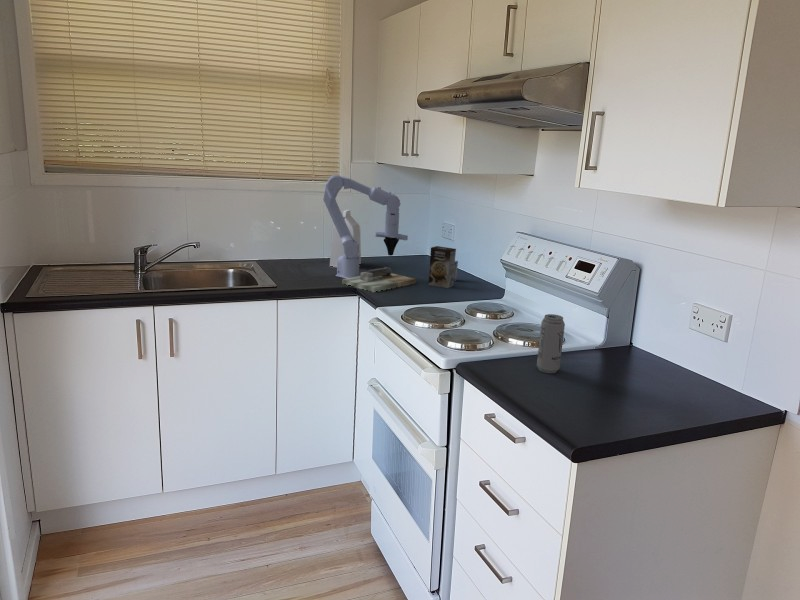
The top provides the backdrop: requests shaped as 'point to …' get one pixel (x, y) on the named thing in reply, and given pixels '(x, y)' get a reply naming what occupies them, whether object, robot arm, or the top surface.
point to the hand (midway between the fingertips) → (390, 255)
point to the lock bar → (380, 271)
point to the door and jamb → (378, 281)
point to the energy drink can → (550, 343)
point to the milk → (336, 242)
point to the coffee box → (442, 266)
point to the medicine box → (455, 271)
